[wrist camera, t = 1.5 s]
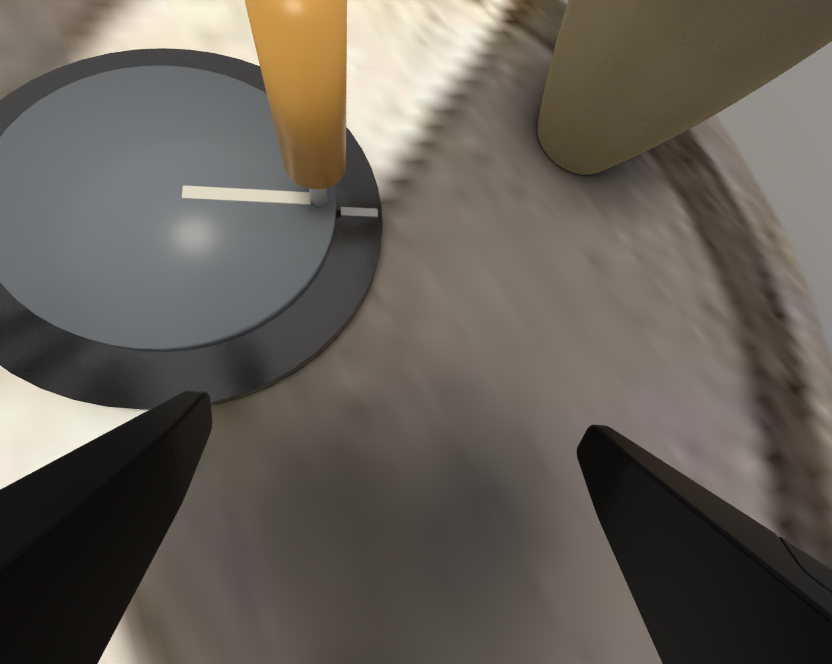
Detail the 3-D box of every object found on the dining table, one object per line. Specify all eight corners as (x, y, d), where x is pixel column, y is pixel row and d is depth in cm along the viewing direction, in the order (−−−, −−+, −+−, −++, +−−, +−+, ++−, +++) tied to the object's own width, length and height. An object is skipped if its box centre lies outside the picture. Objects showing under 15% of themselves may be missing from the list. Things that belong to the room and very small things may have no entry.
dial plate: (229, 493, 19) (219, 500, 18) (-164, 256, 19) (-212, 240, 17) (439, 193, 27) (445, 179, 25) (166, 15, 26) (154, -12, 24)
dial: (-39, 358, 17) (-880, 215, 5) (29, 66, 21) (-354, -369, 10) (349, 346, 21) (356, 246, 9) (342, 100, 25) (340, -182, 13)
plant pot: (512, 48, 32) (661, -282, 17) (653, 111, 34) (902, -141, 19) (475, 175, 28) (631, -119, 13) (639, 241, 30) (950, 49, 14)
